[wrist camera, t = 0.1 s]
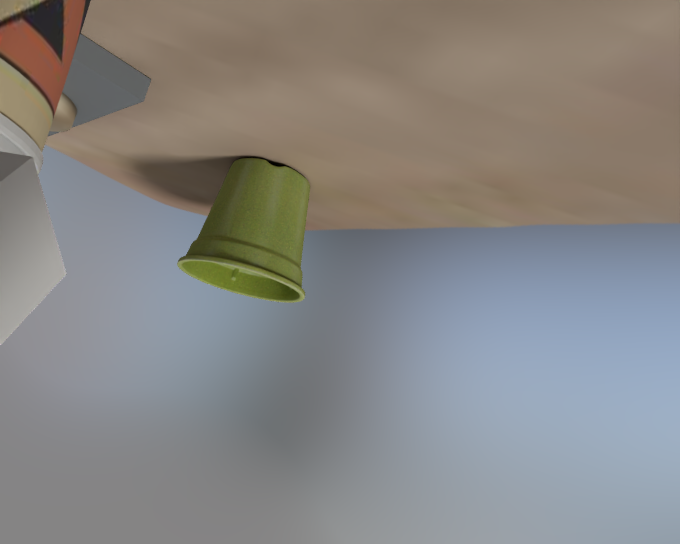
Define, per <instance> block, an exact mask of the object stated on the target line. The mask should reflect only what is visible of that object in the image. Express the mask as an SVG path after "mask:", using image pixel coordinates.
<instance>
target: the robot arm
mask: <svg viewBox="0 0 680 544" xmlns="http://www.w3.org/2000/svg"><path fill="white" fill-rule="evenodd" d="M65 276H66V270H65V267H64V264H63V260H62V257H61V253H60V250H59V246H58V243H57V239H56V236H55V232H54V229H53V226H52V222H51V218H50V215H49V212H48V208H47V205H46V201H45V198H44V194H43V191H42V187H41V184H40V180H39V177H38V173H37V170H36V166H35V163H34V160H33V157H31V156H25V155H19V154H13V153H8V152H2V151H0V345H1V344H2V343H3V342H4V341H5V340H6V339H7V338H8V337H9V336H10V335H11V333H12V332H13V331H14V330H15V329H16V328H17V327H18V326H19V325H20V324H21V323H22V322H23V320H24V319H25V318H26V317H27V316H28V315H29V314H30V313H31V312H32V311H33V310H34V308H36V307H37V305H39V303H40V302H41V301H42V300H43V299H44V298H45V297H46V296H47V295H48V294H49V293H50V292H51V290H53V288H54V287H55V286H56V285H57V284H58V283H59V282H60V281H61V280H62V279H63V278H64V277H65Z"/></svg>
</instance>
